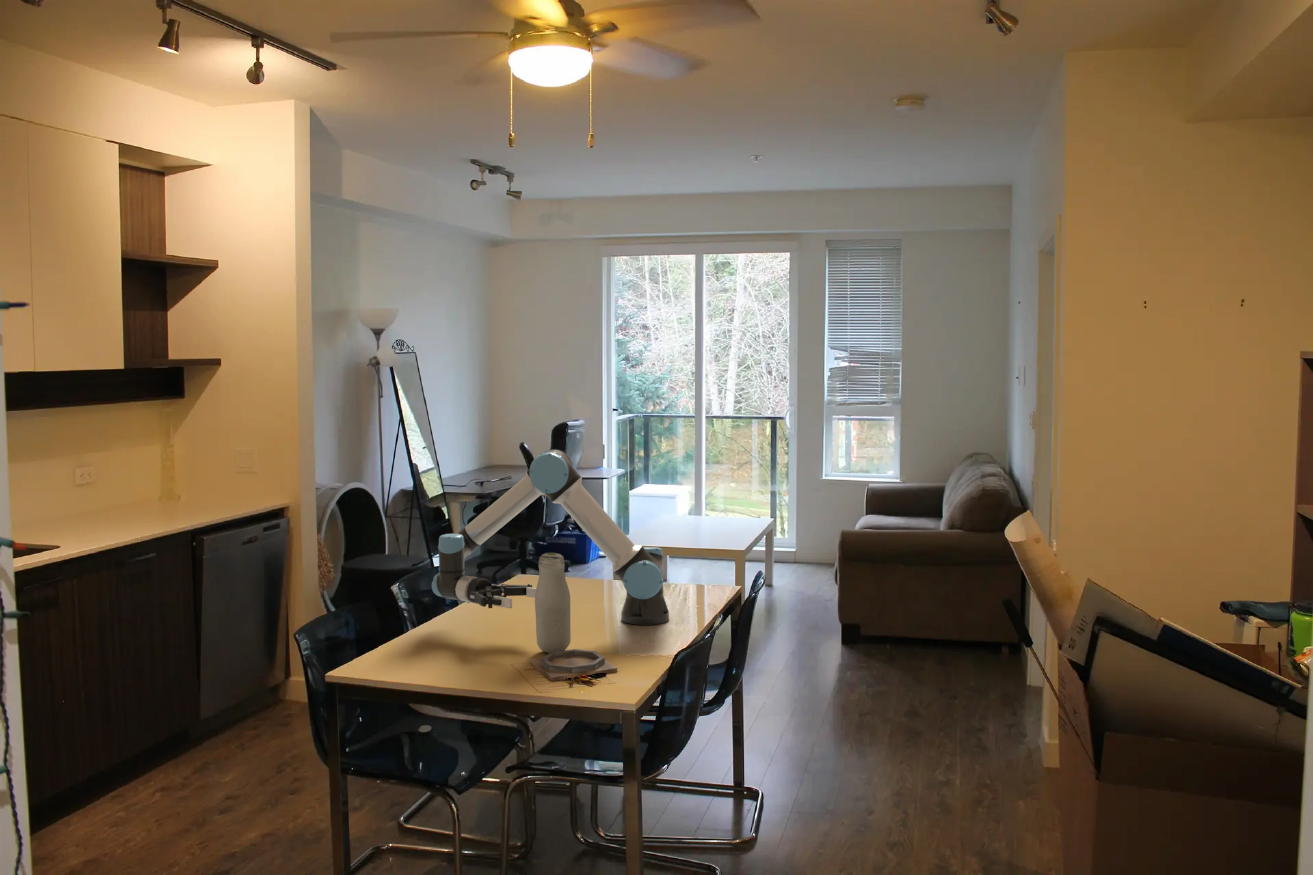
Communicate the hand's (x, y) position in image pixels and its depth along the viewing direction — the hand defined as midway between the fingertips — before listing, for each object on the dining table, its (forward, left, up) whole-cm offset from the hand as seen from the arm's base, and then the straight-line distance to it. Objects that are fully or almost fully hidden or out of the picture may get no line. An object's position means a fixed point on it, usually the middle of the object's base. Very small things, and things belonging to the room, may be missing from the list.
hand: (527, 598), depth 279 cm
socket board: (-5, +24, -14) cm, 28 cm away
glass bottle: (-5, +8, -14) cm, 17 cm away
